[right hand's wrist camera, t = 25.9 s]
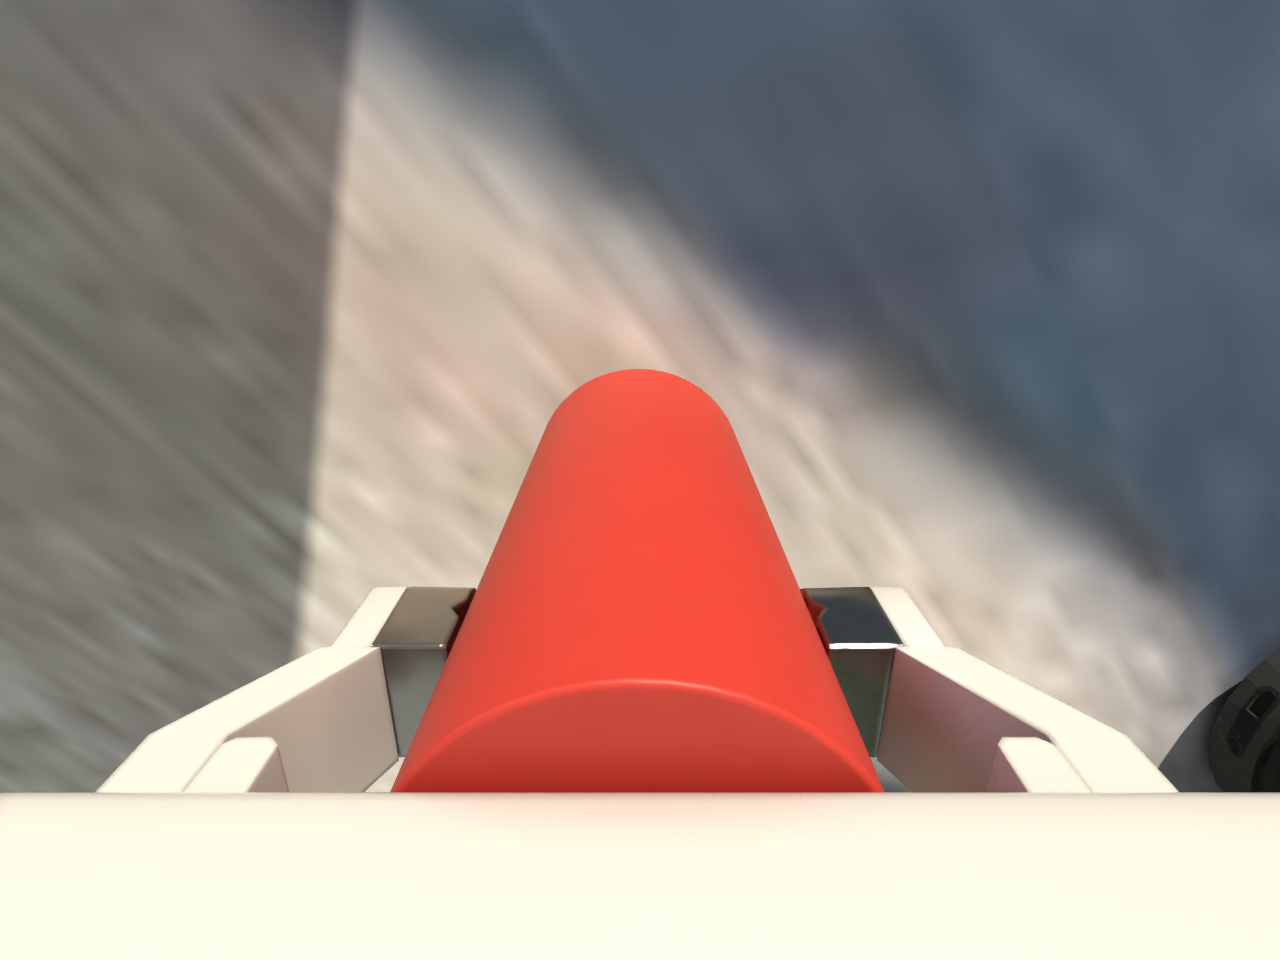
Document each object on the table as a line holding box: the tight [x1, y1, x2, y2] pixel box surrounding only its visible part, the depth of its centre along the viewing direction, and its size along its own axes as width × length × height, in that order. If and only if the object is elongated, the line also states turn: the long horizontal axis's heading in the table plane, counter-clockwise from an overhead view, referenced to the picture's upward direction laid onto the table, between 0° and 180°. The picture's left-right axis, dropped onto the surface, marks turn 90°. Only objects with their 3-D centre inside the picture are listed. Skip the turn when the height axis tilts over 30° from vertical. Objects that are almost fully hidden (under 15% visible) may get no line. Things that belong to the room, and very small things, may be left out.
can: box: [391, 369, 884, 793], centre depth 11 cm, size 5×5×11 cm
